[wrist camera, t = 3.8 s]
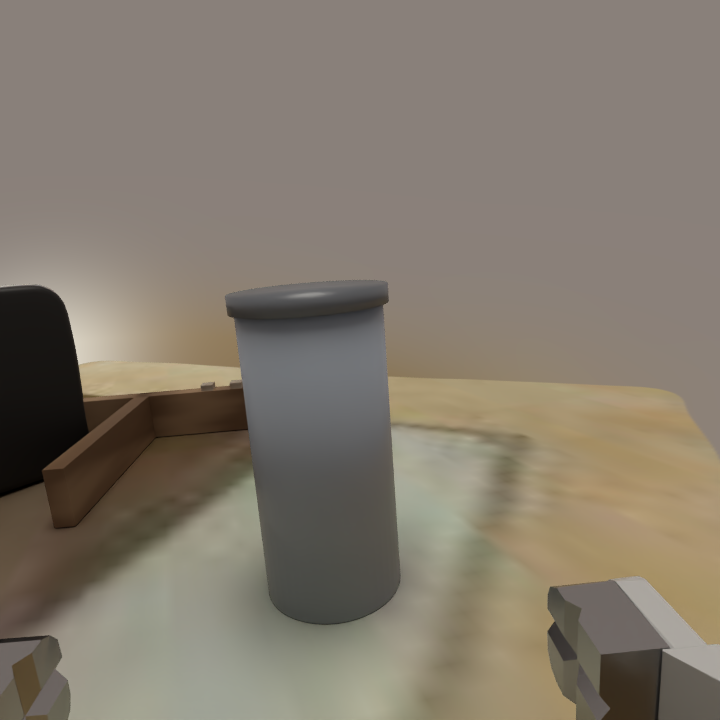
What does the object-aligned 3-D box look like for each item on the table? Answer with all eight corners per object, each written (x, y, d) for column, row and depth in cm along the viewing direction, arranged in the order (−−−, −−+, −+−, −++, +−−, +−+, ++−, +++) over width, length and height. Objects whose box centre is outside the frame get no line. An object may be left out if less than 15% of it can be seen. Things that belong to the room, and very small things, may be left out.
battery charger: (75, 450, 36) (40, 280, 33) (101, 461, 34) (65, 280, 31) (-49, 491, 31) (-101, 294, 28) (-29, 508, 28) (-84, 295, 26)
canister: (253, 636, 17) (208, 304, 15) (271, 544, 23) (239, 288, 20) (416, 619, 18) (397, 289, 15) (396, 532, 23) (379, 277, 20)
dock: (-182, 550, 25) (-204, 484, 24) (-10, 447, 38) (-21, 401, 37) (303, 504, 26) (296, 439, 25) (312, 418, 39) (307, 373, 38)
